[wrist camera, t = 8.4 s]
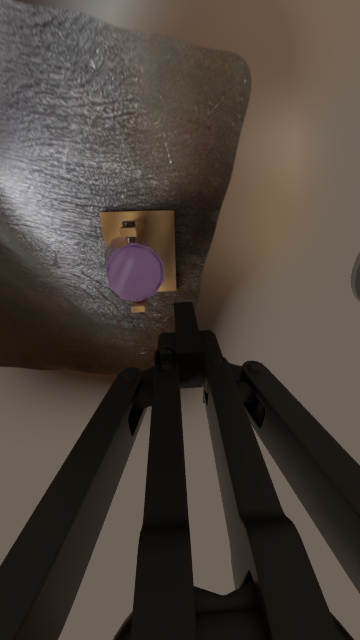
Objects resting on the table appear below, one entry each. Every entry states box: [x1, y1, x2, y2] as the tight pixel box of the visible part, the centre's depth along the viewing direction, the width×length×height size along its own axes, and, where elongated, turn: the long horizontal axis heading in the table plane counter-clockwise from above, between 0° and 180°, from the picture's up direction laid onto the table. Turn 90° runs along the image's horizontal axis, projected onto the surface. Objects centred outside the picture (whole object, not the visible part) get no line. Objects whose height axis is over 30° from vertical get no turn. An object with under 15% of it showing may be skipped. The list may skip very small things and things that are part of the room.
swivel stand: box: [100, 210, 176, 314], centre depth 33 cm, size 12×14×12 cm
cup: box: [105, 236, 164, 302], centre depth 32 cm, size 8×9×9 cm
